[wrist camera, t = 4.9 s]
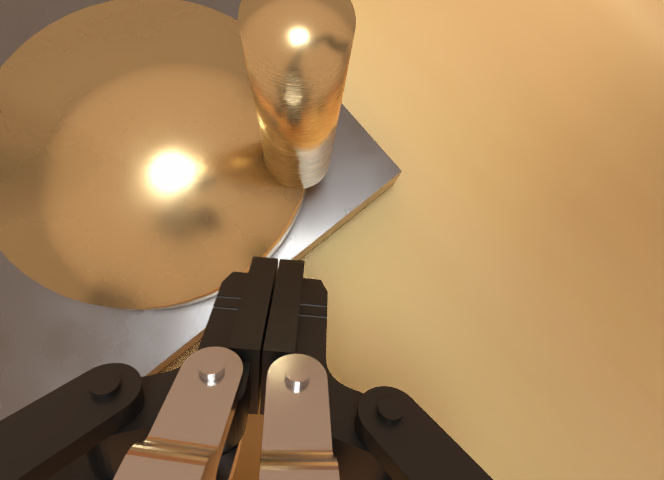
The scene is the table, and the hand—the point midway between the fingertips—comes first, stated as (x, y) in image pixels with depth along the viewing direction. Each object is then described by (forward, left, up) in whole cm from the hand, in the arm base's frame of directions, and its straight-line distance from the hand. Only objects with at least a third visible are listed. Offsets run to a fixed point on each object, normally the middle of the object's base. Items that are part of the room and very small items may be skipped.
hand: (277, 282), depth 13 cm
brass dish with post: (0, -8, -5) cm, 9 cm away
